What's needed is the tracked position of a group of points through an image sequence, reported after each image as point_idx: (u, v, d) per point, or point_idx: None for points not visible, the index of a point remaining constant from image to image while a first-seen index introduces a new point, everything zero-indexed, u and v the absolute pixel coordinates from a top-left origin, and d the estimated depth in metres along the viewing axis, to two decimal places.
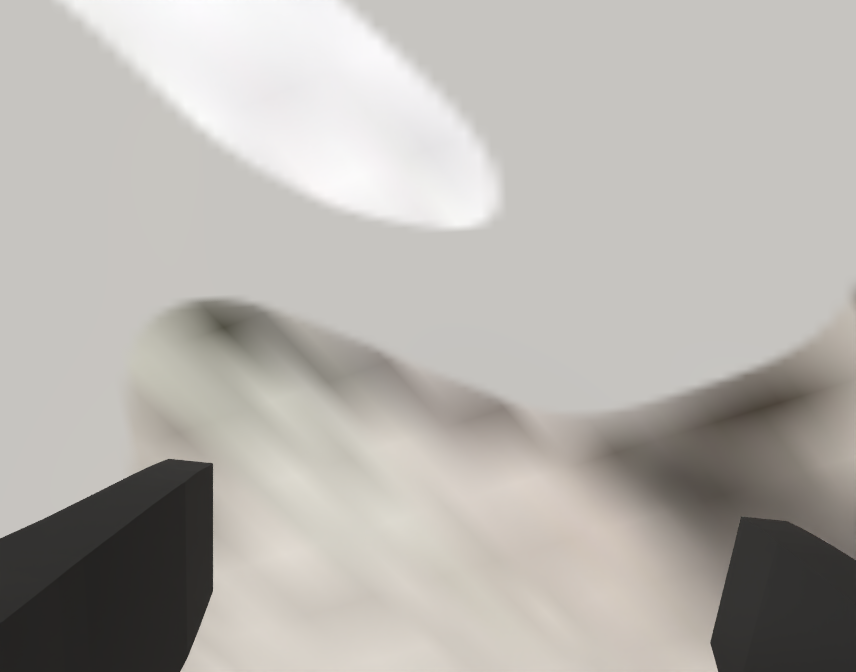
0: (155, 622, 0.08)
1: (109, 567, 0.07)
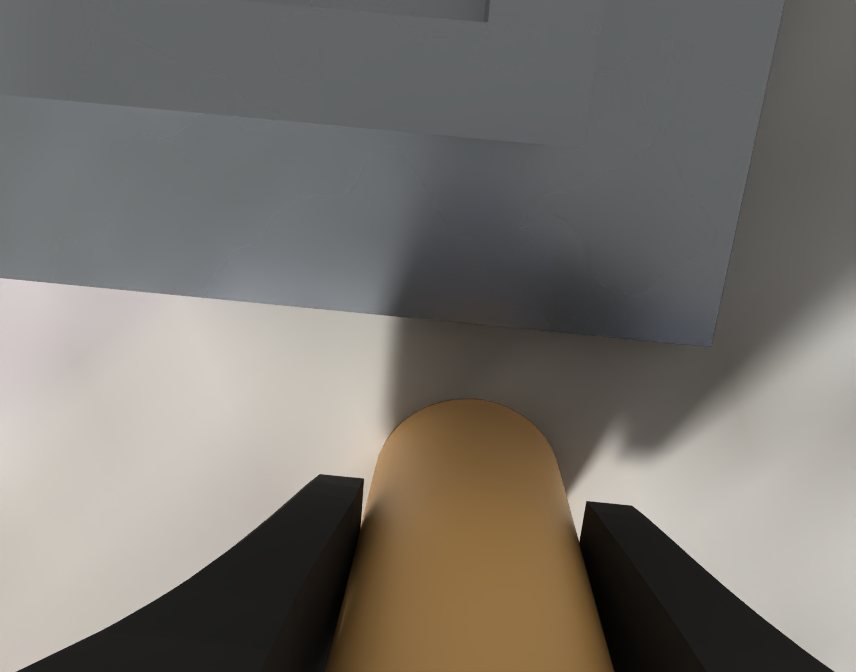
0: (331, 641, 0.08)
1: (315, 589, 0.07)
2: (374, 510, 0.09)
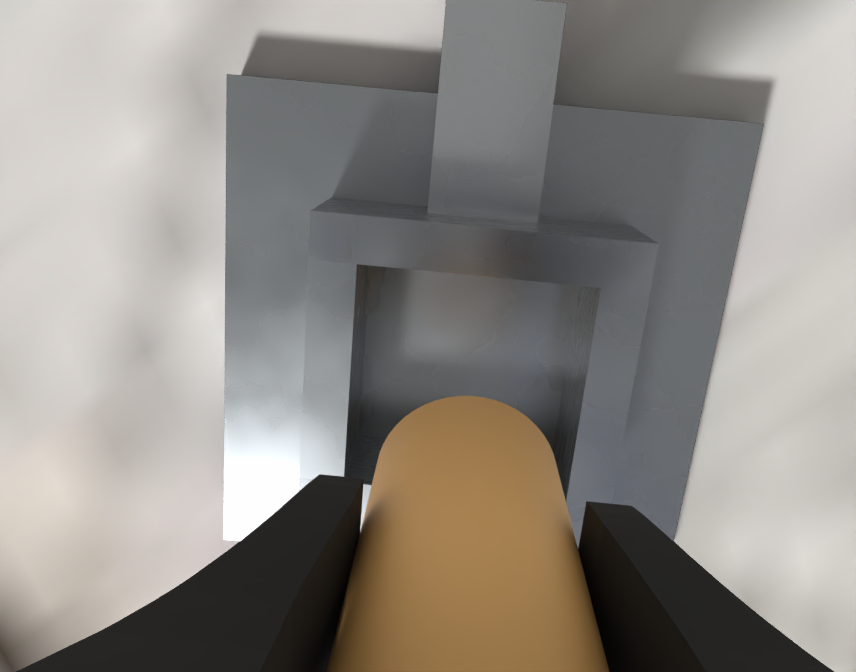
0: (331, 641, 0.08)
1: (314, 588, 0.07)
2: (373, 508, 0.10)
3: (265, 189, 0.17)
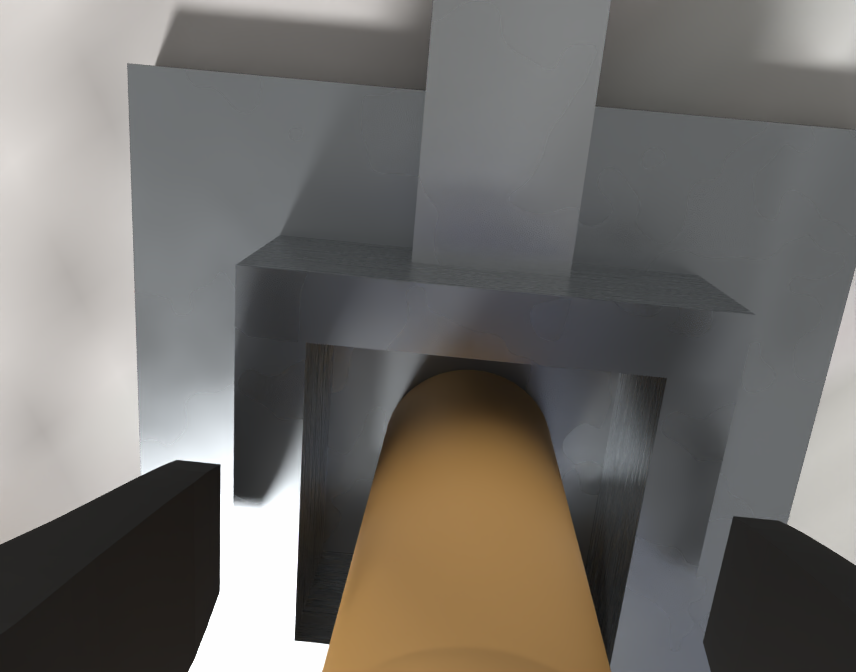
0: (164, 623, 0.08)
1: (119, 568, 0.07)
2: (383, 462, 0.11)
3: (187, 224, 0.12)
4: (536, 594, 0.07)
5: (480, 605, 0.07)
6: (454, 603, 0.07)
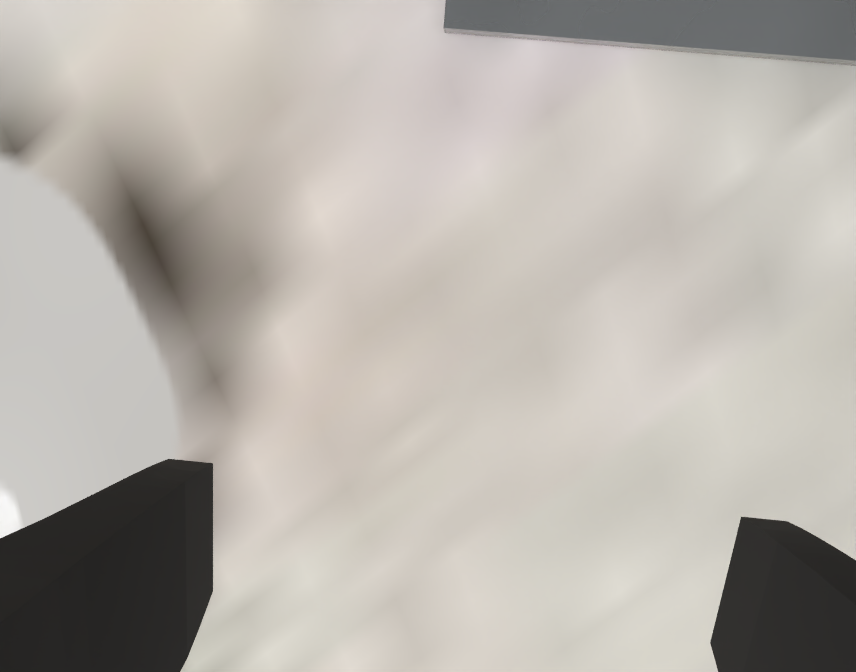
0: (155, 622, 0.08)
1: (109, 567, 0.07)
2: None
3: None
4: None
5: None
6: None
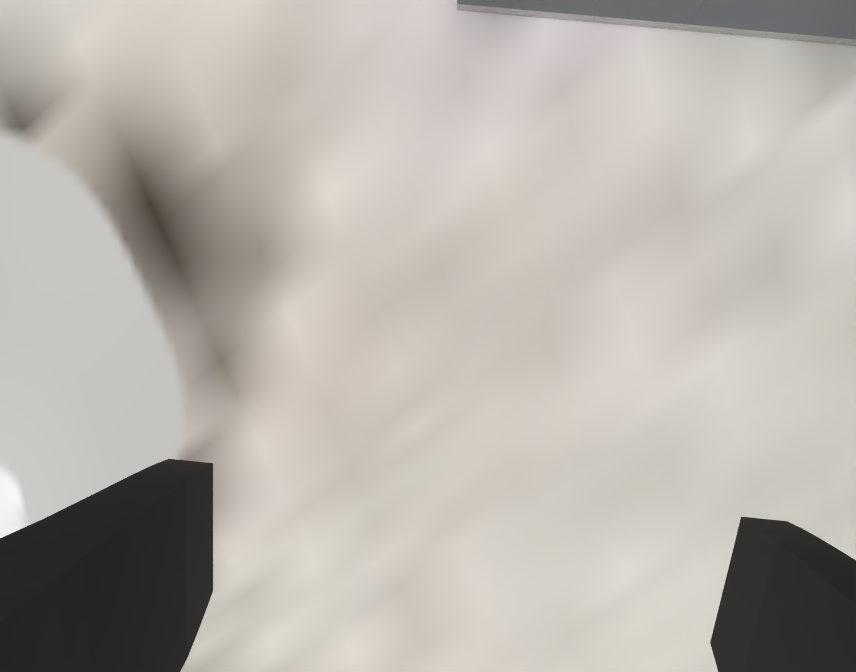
0: (155, 622, 0.08)
1: (109, 567, 0.07)
2: None
3: None
4: None
5: None
6: None
